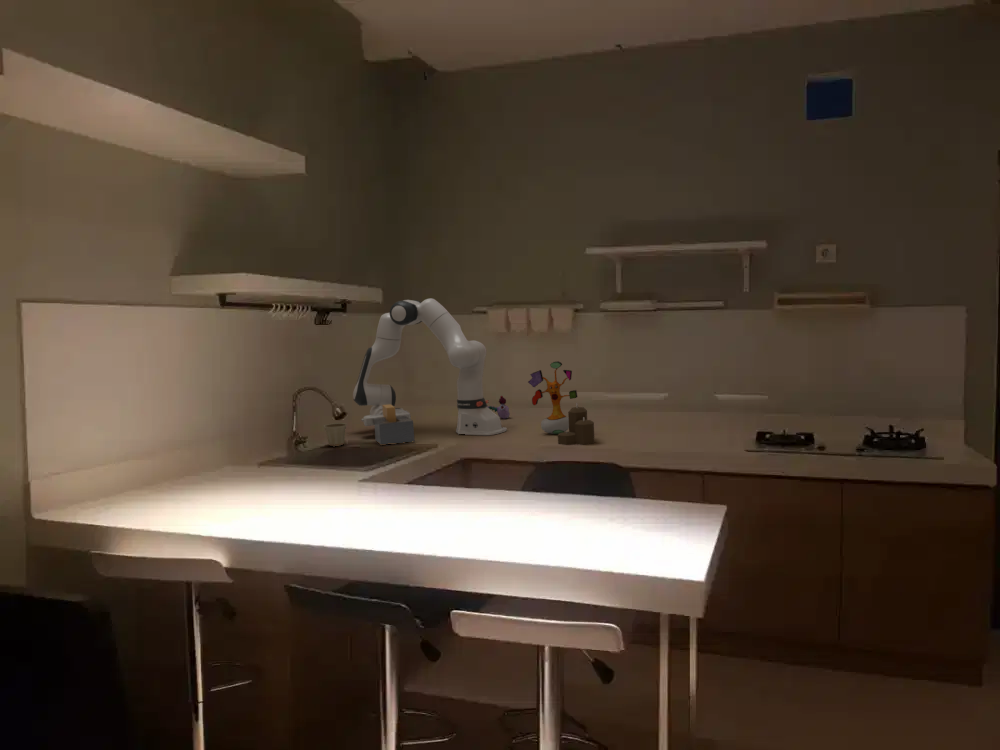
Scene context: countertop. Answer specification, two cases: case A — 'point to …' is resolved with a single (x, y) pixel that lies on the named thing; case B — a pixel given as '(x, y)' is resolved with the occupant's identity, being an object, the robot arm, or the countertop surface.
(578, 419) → the candle
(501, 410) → the toy
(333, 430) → the flower pot
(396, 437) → the block
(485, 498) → the countertop surface
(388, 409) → the tan rectangular block
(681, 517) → the countertop surface
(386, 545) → the countertop surface
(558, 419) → the decorative sculpture
